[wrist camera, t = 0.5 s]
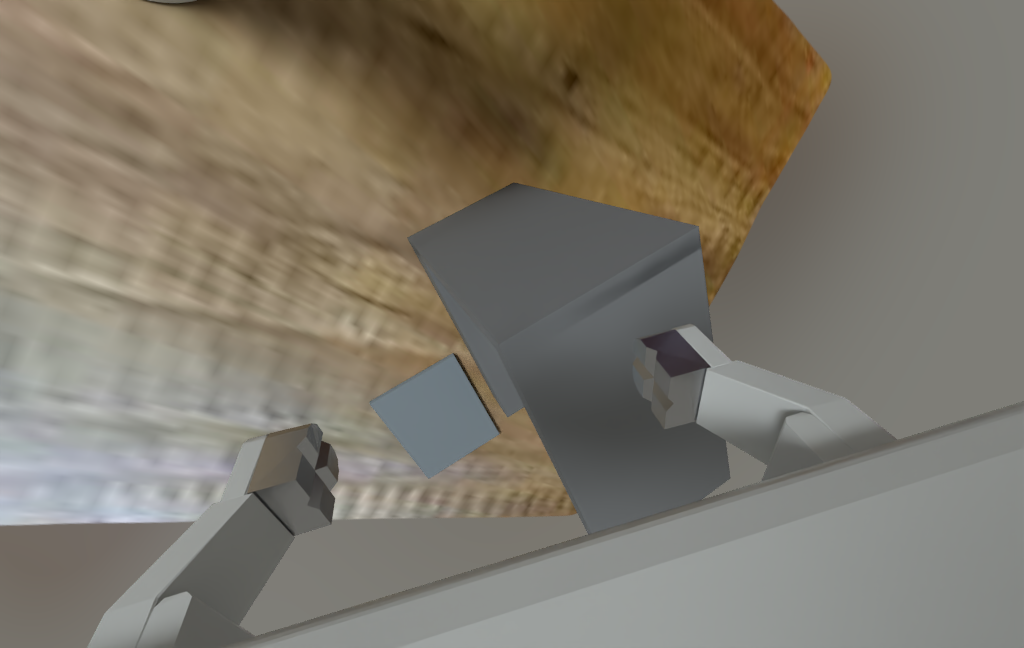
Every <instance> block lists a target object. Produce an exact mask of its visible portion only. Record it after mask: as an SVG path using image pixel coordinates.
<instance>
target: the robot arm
mask: <svg viewBox="0 0 1024 648" xmlns="http://www.w3.org/2000/svg"><path fill="white" fill-rule="evenodd" d="M149 1H155V2H163V3H184V2H191V1H195V0H149ZM633 352H634V353H635V354H636V356H637V358H636V359H635V361H634V362H633V363H632V374H633V378H634V382H635V385H636V387H637V389H638V391H639V393H640V394H641V396H642V397H643V398H645V399H647V400H649V401H651V402H652V405H651V411H652V412H653V413H654V415H655V416H656V418H657V419H658V421H659V422H660V424H661V425H662V427H663V428H664V429H668V428H672V427H676V426H679V425H683V424H687V423H691V422H695V421H696V423H697V424H699V425H700V426H702V427H704V428H706V429H707V430H709V431H711V432H712V433H714V434H716V435H717V436H719V437H721V438H722V439H724V440H726V441H727V442H729V443H731V444H733V445H734V446H736V447H738V448H739V449H741V450H743V451H744V452H746V453H748V454H749V455H751V456H753V457H754V458H756V459H758V460H760V461H761V462H763V463H765V464H766V465H767V468H766V471H765V473H764V476H763V478H762V481H761V482H759V483H755V484H752V485H748V486H745V487H742V488H739V489H736V490H732V491H729V492H726V493H722V494H719V495H716V496H713V497H709V498H706V499H703V500H699V501H696V502H693V503H690V504H686V505H683V506H680V507H676V508H673V509H670V510H667V511H663V512H660V513H657V514H654V515H650V516H647V517H644V518H640V519H637V520H634V521H631V522H627V523H624V524H621V525H618V526H614V527H611V528H608V529H604V530H601V531H598V532H595V533H591V534H588V535H585V536H582V537H578V538H575V539H572V540H569V541H566V542H562V543H559V544H555V545H552V546H549V547H546V548H542V549H539V550H536V551H533V552H529V553H526V554H523V555H520V556H516V557H513V558H510V559H507V560H503V561H500V562H497V563H494V564H490V565H487V566H484V567H481V568H477V569H474V570H471V571H468V572H464V573H461V574H458V575H454V576H451V577H448V578H445V579H441V580H438V581H435V582H432V583H428V584H425V585H422V586H419V587H415V588H412V589H409V590H405V591H402V592H399V593H396V594H392V595H389V596H386V597H383V598H379V599H376V600H373V601H369V602H366V603H363V604H360V605H357V606H353V607H350V608H347V609H343V610H340V611H337V612H334V613H330V614H327V615H324V616H320V617H317V618H314V619H311V620H307V621H304V622H301V623H298V624H294V625H291V626H288V627H284V628H281V629H278V630H275V631H271V632H268V633H265V634H261V635H258V636H254V635H253V634H251V633H250V632H248V631H247V630H245V629H244V628H242V627H240V626H239V624H240V623H241V621H242V620H243V618H244V617H245V615H246V613H247V612H248V610H249V609H250V607H251V605H252V604H253V602H254V601H255V599H256V598H257V596H258V595H259V593H260V591H261V590H262V588H263V587H264V585H265V584H266V582H267V580H268V579H269V577H270V576H271V574H272V573H273V571H274V570H275V568H276V566H277V565H278V563H279V562H280V560H281V559H282V557H283V556H284V554H285V552H286V551H287V549H288V548H289V546H290V545H291V543H292V542H293V540H294V536H295V535H299V534H302V533H305V532H309V531H312V530H315V529H318V528H321V527H324V526H328V525H331V522H332V516H333V509H334V502H335V497H334V496H333V495H332V493H331V492H330V491H331V489H332V488H333V487H334V486H335V484H336V483H337V481H338V473H339V468H338V459H337V456H336V454H335V451H334V449H333V448H332V446H331V444H329V443H326V442H324V441H321V440H322V435H323V432H322V431H321V429H320V428H319V427H318V425H317V424H312V423H311V424H307V425H303V426H299V427H295V428H290V429H286V430H282V431H278V432H274V433H270V434H267V435H263V436H259V437H254V438H250V439H248V440H247V441H246V442H245V443H244V444H243V445H242V448H241V450H240V453H239V455H238V458H237V460H236V463H235V465H234V468H233V470H232V473H231V476H230V478H229V481H228V483H227V486H226V488H225V491H224V493H223V496H222V498H221V501H220V502H217V503H214V504H212V505H211V506H210V507H209V508H208V509H207V510H206V511H205V512H204V513H203V514H202V515H201V516H200V518H199V519H198V520H197V521H196V522H195V523H194V524H193V525H192V526H191V527H190V528H189V529H188V530H187V531H186V532H185V533H184V534H183V535H182V536H181V537H180V538H179V539H178V540H177V541H176V542H175V543H174V544H173V545H172V546H171V547H170V548H169V549H168V550H167V551H166V552H165V553H164V554H163V555H162V556H161V557H160V558H159V559H158V560H157V561H156V562H155V563H154V564H153V565H152V566H151V567H150V568H149V569H148V570H147V571H146V572H145V573H144V574H143V575H142V576H141V577H140V578H139V579H138V580H137V581H136V582H135V583H134V584H133V585H132V586H131V587H130V588H129V589H128V590H127V591H126V592H125V593H124V594H123V595H122V596H121V597H120V598H119V599H118V600H117V601H116V602H115V603H114V604H113V605H112V606H111V608H109V610H107V612H106V613H105V614H104V616H103V618H102V620H101V622H100V624H99V626H98V628H97V630H96V632H95V633H94V635H93V637H92V639H91V641H90V643H89V645H88V647H87V648H1024V401H1023V402H1020V403H1016V404H1013V405H1010V406H1007V407H1003V408H1001V409H997V410H993V411H990V412H987V413H984V414H980V415H977V416H974V417H971V418H967V419H964V420H961V421H958V422H955V423H951V424H948V425H945V426H941V427H938V428H935V429H932V430H928V431H925V432H922V433H918V434H915V435H912V436H909V437H905V438H902V439H899V440H897V439H896V438H895V437H893V436H892V435H891V434H890V433H889V432H887V431H886V430H885V429H884V428H882V427H881V426H880V425H879V424H877V423H876V422H875V421H874V420H873V419H871V418H870V417H869V416H868V415H866V414H865V413H864V412H863V411H861V410H860V409H859V408H858V407H856V406H855V405H854V404H853V403H852V402H850V401H849V400H848V399H847V398H844V397H841V396H838V395H836V394H833V393H829V392H827V391H824V390H821V389H818V388H816V387H812V386H810V385H807V384H804V383H801V382H798V381H795V380H793V379H790V378H787V377H784V376H781V375H778V374H776V373H773V372H770V371H767V370H764V369H761V368H758V367H756V366H752V365H750V364H747V363H744V362H741V361H734V362H732V361H731V360H730V359H729V358H728V357H727V356H726V355H725V354H724V353H723V352H722V351H721V350H720V349H718V347H716V345H714V344H713V343H712V342H711V341H710V340H709V339H708V338H707V337H706V336H705V335H704V334H703V333H702V332H701V331H700V330H699V329H698V328H697V327H696V326H695V325H692V324H687V325H684V326H680V327H676V328H673V329H671V330H666V331H662V332H659V333H655V334H651V335H648V336H644V337H640V338H636V339H635V341H634V343H633Z"/></svg>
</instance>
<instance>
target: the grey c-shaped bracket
mask: <svg viewBox="0 0 1024 648" xmlns="http://www.w3.org/2000/svg"><path fill="white" fill-rule="evenodd" d="M408 240H409V242H410V244H411V246H412V247H413V249H414V251H415V253H416V255H417V257H418V258H419V260H420V262H421V264H422V266H423V268H424V269H425V271H426V273H427V275H428V277H429V279H430V280H431V282H432V284H433V286H434V288H435V290H436V291H437V293H438V295H439V297H440V299H441V301H442V302H443V304H444V306H445V308H446V310H447V312H448V313H449V315H450V317H451V319H452V321H453V322H454V324H455V326H456V328H457V330H458V332H459V333H460V335H461V337H462V339H463V341H464V343H465V344H466V346H467V348H468V350H469V352H470V354H471V355H472V357H473V359H474V361H475V363H476V365H477V366H478V368H479V370H480V372H481V374H482V376H483V377H484V379H485V381H486V383H487V385H488V387H489V388H490V390H491V392H492V394H493V396H494V398H495V399H496V401H497V402H498V404H499V405H500V407H501V408H502V410H503V411H504V413H505V414H506V416H507V417H509V416H511V415H512V414H514V413H515V412H517V411H518V410H520V409H522V408H523V407H525V409H526V411H527V413H528V415H529V417H530V419H531V421H532V423H533V425H534V427H535V429H536V431H537V433H538V435H539V437H540V439H541V441H542V443H543V445H544V447H545V449H546V451H547V453H548V455H549V457H550V459H551V461H552V463H553V465H554V467H555V469H556V471H557V473H558V475H559V477H560V479H561V481H562V483H563V485H564V487H565V489H566V491H567V493H568V495H569V497H570V499H571V501H572V503H573V505H574V507H575V509H576V511H577V513H578V515H579V517H580V519H581V521H582V523H583V525H584V527H585V529H586V531H587V533H588V534H591V533H595V532H598V531H601V530H604V529H608V528H611V527H614V526H618V525H621V524H624V523H627V522H631V521H634V520H637V519H640V518H644V517H647V516H650V515H654V514H657V513H660V512H663V511H667V510H670V509H673V508H676V507H680V506H683V505H686V504H690V503H693V502H696V501H699V500H702V499H703V498H704V497H706V496H707V495H708V494H710V493H711V492H712V491H714V490H715V489H716V488H718V487H719V486H721V485H722V484H723V483H725V482H726V481H727V480H729V479H730V471H729V464H728V456H727V448H726V440H724V439H722V438H721V437H719V436H717V435H716V434H714V433H712V432H711V431H709V430H707V429H706V428H704V427H702V426H700V425H699V424H697V423H696V421H695V422H691V423H687V424H683V425H679V426H676V427H672V428H668V429H664V428H663V427H662V425H661V424H660V422H659V421H658V419H657V418H656V416H655V415H654V413H653V412H652V411H651V405H652V402H651V401H649V400H647V399H645V398H643V397H642V396H641V394H640V393H639V391H638V389H637V387H636V385H635V382H634V378H633V374H632V363H633V362H634V361H635V359H636V358H637V356H636V354H635V353H634V352H633V343H634V341H635V339H636V338H640V337H644V336H648V335H651V334H655V333H659V332H662V331H666V330H671V329H673V328H676V327H680V326H684V325H687V324H692V325H695V326H696V327H697V328H698V329H699V330H700V331H701V332H702V333H703V334H704V335H705V336H706V337H707V338H708V339H709V340H710V341H711V342H712V343H713V337H712V329H711V322H710V314H709V306H708V298H707V290H706V282H705V274H704V266H703V258H702V250H701V242H700V234H699V226H695V225H691V224H687V223H682V222H678V221H674V220H670V219H666V218H661V217H657V216H653V215H649V214H644V213H640V212H636V211H632V210H628V209H623V208H619V207H615V206H611V205H606V204H602V203H598V202H594V201H589V200H585V199H581V198H577V197H573V196H568V195H564V194H560V193H556V192H551V191H547V190H543V189H539V188H535V187H530V186H526V185H522V184H518V183H512V184H510V185H508V186H506V187H505V188H503V189H501V190H499V191H497V192H495V193H493V194H491V195H489V196H487V197H485V198H483V199H481V200H479V201H477V202H475V203H474V204H472V205H470V206H468V207H466V208H464V209H462V210H460V211H458V212H456V213H454V214H452V215H450V216H448V217H446V218H445V219H443V220H441V221H439V222H437V223H435V224H433V225H431V226H429V227H427V228H425V229H423V230H421V231H419V232H417V233H416V234H414V235H412V236H410V237H408Z"/></svg>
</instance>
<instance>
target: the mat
mask: <svg viewBox="0 0 1024 648" xmlns="http://www.w3.org/2000/svg"><path fill="white" fill-rule="evenodd" d="M370 405H371V406H372V408H373V409H374V410H375V411H376V413H377V414H378V415H379V417H380V418H381V419H382V420H383V422H384V423H385V424H386V425H387V427H388V428H389V429H390V431H391V432H392V433H393V434H394V436H395V437H396V438H397V439H398V441H399V442H400V443H401V444H402V446H403V447H404V448H405V450H406V451H407V452H408V453H409V455H410V456H411V457H412V458H413V460H414V461H415V462H416V464H417V465H418V466H419V467H420V469H421V470H422V471H423V472H424V474H425V475H426V476H427V477H428V479H429V478H431V477H432V476H434V475H436V474H437V473H439V472H440V471H442V470H443V469H445V468H447V467H448V466H450V465H451V464H453V463H455V462H456V461H458V460H459V459H461V458H462V457H464V456H466V455H467V454H469V453H470V452H472V451H473V450H475V449H477V448H478V447H480V446H481V445H483V444H484V443H486V442H488V441H489V440H491V439H492V438H494V437H495V436H497V435H499V432H498V431H497V429H496V427H495V426H494V424H493V422H492V420H491V419H490V417H489V415H488V413H487V412H486V410H485V408H484V406H483V405H482V403H481V401H480V399H479V398H478V396H477V394H476V393H475V391H474V389H473V387H472V386H471V384H470V382H469V380H468V379H467V377H466V375H465V373H464V372H463V370H462V368H461V366H460V365H459V363H458V361H457V360H456V358H455V356H454V354H453V353H452V354H451V355H449V356H447V357H446V358H444V359H442V360H440V361H439V362H437V363H435V364H434V365H432V366H430V367H428V368H427V369H425V370H423V371H422V372H420V373H418V374H416V375H415V376H413V377H411V378H410V379H408V380H406V381H404V382H403V383H401V384H399V385H398V386H396V387H394V388H392V389H391V390H389V391H387V392H386V393H384V394H382V395H380V396H379V397H377V398H375V399H374V400H372V401H370Z"/></svg>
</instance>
